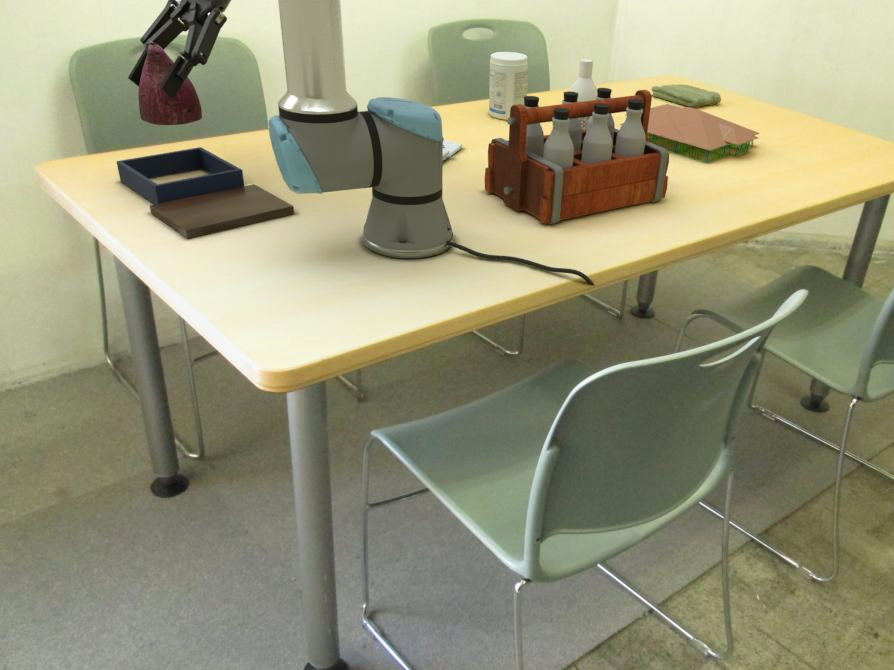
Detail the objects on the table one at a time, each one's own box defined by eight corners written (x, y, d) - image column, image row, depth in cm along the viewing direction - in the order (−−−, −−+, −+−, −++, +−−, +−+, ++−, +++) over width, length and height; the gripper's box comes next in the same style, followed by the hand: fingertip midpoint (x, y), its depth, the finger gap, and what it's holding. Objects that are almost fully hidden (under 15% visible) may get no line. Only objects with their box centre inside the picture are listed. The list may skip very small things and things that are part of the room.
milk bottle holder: (674, 199, 173) (689, 102, 162) (536, 229, 155) (543, 121, 144) (608, 169, 187) (618, 77, 176) (473, 193, 168) (476, 92, 158)
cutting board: (294, 213, 153) (293, 205, 152) (187, 238, 141) (186, 230, 140) (255, 191, 161) (254, 183, 160) (151, 213, 149) (149, 205, 148)
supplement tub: (521, 111, 223) (524, 51, 215) (529, 121, 215) (532, 59, 207) (485, 110, 221) (487, 50, 213) (491, 120, 213) (493, 59, 205)
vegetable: (185, 145, 151) (169, 65, 140) (131, 130, 151) (111, 50, 140) (214, 116, 158) (201, 38, 147) (163, 102, 158) (145, 23, 147)
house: (717, 167, 193) (724, 131, 188) (604, 133, 210) (607, 99, 206) (766, 149, 208) (773, 115, 203) (656, 118, 225) (661, 86, 221)
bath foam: (586, 157, 193) (596, 65, 182) (558, 151, 195) (566, 60, 184) (597, 149, 198) (606, 59, 187) (570, 144, 200) (577, 55, 189)
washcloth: (677, 90, 254) (679, 79, 252) (722, 105, 243) (725, 93, 241) (647, 95, 247) (648, 83, 245) (692, 110, 236) (694, 98, 234)
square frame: (244, 190, 161) (242, 169, 159) (159, 208, 151) (154, 186, 149) (203, 166, 171) (200, 146, 169) (120, 181, 161) (116, 161, 159)
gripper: (268, 4, 149) (204, 113, 146) (192, -12, 159) (131, 90, 156) (239, -28, 142) (171, 85, 140) (162, -43, 152) (97, 63, 150)
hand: (150, 87), depth 148 cm, fingers closed on vegetable, 8 cm apart
